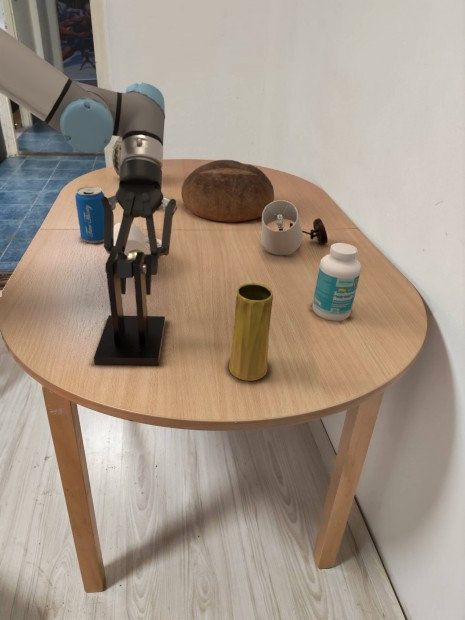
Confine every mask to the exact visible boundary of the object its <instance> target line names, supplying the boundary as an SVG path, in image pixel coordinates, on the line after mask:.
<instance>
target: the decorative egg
mask: <svg viewBox="0 0 465 620" xmlns="http://www.w3.org/2000/svg"><path fill="white" fill-rule="evenodd" d="M121 147H122V137H119V136H118V138H117V139H116V140H115V142H114V144H113V148H112V152H111V161H112V166H113V169H114V171H115V173H116V174H117V175H118V177H120V166H121V163H120V162H121Z"/></svg>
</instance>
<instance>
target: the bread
mask: <svg viewBox="0 0 465 620" xmlns="http://www.w3.org/2000/svg"><path fill="white" fill-rule="evenodd" d="M274 189H275V188H274V186H273V184H272V182H271V180H270V179H269V177H268V176H267V175H266V174H265V173H264V172H263V171H262V169H260V168H258V167H256V166H254V165H252V164H249V163H247V164H246V163H242V162H240V161H237V160H233V159H219V160H213V161H211V162H207V163H205V164H202V165H200V166H199V167H196V168H195V169H194V170H193V171H192V172H190V173H189V174H188V175H187V177H185V179H184V180H183V183H182V185H181V190H180V191H181V192H180V194H181V200H182V202H183V204H184V206H185V207H186V208H187V210H189V211H190V212H191V213H192V214H194V215H196V216H198V217H199V218H203V219H205V220H211V221H217V222H225V223H226V222H227V223H230V222H231V223H236V222H245V221H251V220H256V219H259V218H262V213H263V211H264V209H265V207H266V206H267V205H268V204H270V203H271V202H274V201H275V190H274Z"/></svg>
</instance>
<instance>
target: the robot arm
mask: <svg viewBox="0 0 465 620" xmlns="http://www.w3.org/2000/svg"><path fill="white" fill-rule="evenodd" d="M0 94H2V95H3V96H4V97H5V98H7V99H9V100H11V101H12V102H13V103H15V104H17V105H18V106H20V107H21V108H23V109H24V110H26V111H27V112H29V113H30V114H32V115H33V116H34V117H36V118H38V120H39V119H40V120H41V121H42V122H44V123H46V124H47V125H48V126H50V127H51V128H52V129H54V130H55V131H57V132H58V133H59V134H61V135H62V137H63V138H64V140H65V141H66V142H67V143H68V145H69V146H70V147H71V148H73V149H74V150H76V151H78V152H81V153H85V154H95V153H99V152H100V151H102V150H104V149H105V148H106V147H107V146H108V145H109V144H111V143H110V142H111V140H112V139H113V138H112V137H118V138H119V137H122V147H121V162H120V163H121V166H120V176H119V179H118V180H119V181H118V188H117V190H116V192H115V194H114V195H113V196H109V197H107V196H105V195H104V197H102V198H101V202H102V205H103V207H104V241H103V248H104V250H105V252H106V253H107V254H108V255H109V254H110V253H111V251H117V252H118V261H119V260H120V259H124V260H126V255H125V254H124V252H125V248H126V244H127V240H128V236H129V232H130V228H131V225H132V223H134V219H136V218H143V219H145V225H146V229H147V230H146V231H147V237H148V238H149V243H148V244H149V249H150V252H151V255H150V254H146V264H145V265H146V274H145V281H146V296H151V292H152V276H158V272H159V259H160V258H161V257H163V256H165V257H166V256H169V254H170V248H171V239H172V238H171V237H172V226H173V218H174V215H175V213H176V211H177V209H178V207H177V201H176V199H174V198H167V197H164V193H163V191H162V188H163V186H162V184H163V164H164V163H163V162H164V161H163V160H164V136H165V122H166V121H165V120H166V110H165V109H166V107H165V105H166V104H165V98H164V95H163V93H162V92H161V90H160V89H159V88H157V87H156V86H155V85H153V84H150V83H146V82H141V83H137V82H135V83H132V84H129V85H128V87H127V88H126V89H125V92H119V91H114V90H110V89H108V88H107V89H106V88H102V87H98V86H95V85H90V84H88V83H83V82H80V81H79V80H72V79H71V78H69V77H68V76H67V75H66V74H64V72H61V71H60V70H59V69H58V68H56V67H55V66H54V65H52V64H51V63H50V62H48V61H47V60H45V59H44V58H42V57H41V56H40V55H38V53H36V52H34V51H33V50H32V49H31V48H29V47H28V46H26V44H24V43H22V42H21V41H19V39H17V38H16V37H14V36H13V35H11V34H10V33H9V32H7V31H6V30H5V29H4V28H2V27H0ZM117 204H119V206H120V207H121V209H122V218H121V221H120V222H121V226H120V229H119V233H118V237H117V241H116V244H115V246H114V225H115V214H114V210H115V209H116V208H117ZM161 206H162V209H163V211H164V215H163V224H162V225H163V226H162V235H161V241H162V243H161V247H160V246H158V244H157V240H156V238H157V234H156V228H155V227H156V226H155V220H154V214H155V213H156V212H157V211H158V209H159V208H160V207H161ZM120 283H121V293H122V295H126V291H127V278H120Z"/></svg>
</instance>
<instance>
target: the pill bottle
mask: <svg viewBox="0 0 465 620" xmlns="http://www.w3.org/2000/svg"><path fill="white" fill-rule="evenodd" d="M357 254H358V249H357V247H356V246H354V245H352V244H350V243H347V242H346V243H345V242H336V243H332V244H331V246H330V249H329V253H328V254H326V255H324V256H323V257H322V258H321V260H320V262H319V265H318V266H319V267H318V272H317V278H316V283H315V284H316V285H315V288H314V293H313V300H312V305H311V307H312V311H313V312H314V313H315V314H316V315H317V316H318V317H320V318H322V319H324V320H328V321H334V322H336V321H338V322H339V321H343V320H346V319H348V318H349V317H350V315H351V313H352V309H353V307H354V306H353V305H354V301H355V297H356V293H357V288H358V286H359V285H358V284H359V281H360V276H361V272H362V265H361V263H360V261H359V260H358V259H357V256H358V255H357Z"/></svg>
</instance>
